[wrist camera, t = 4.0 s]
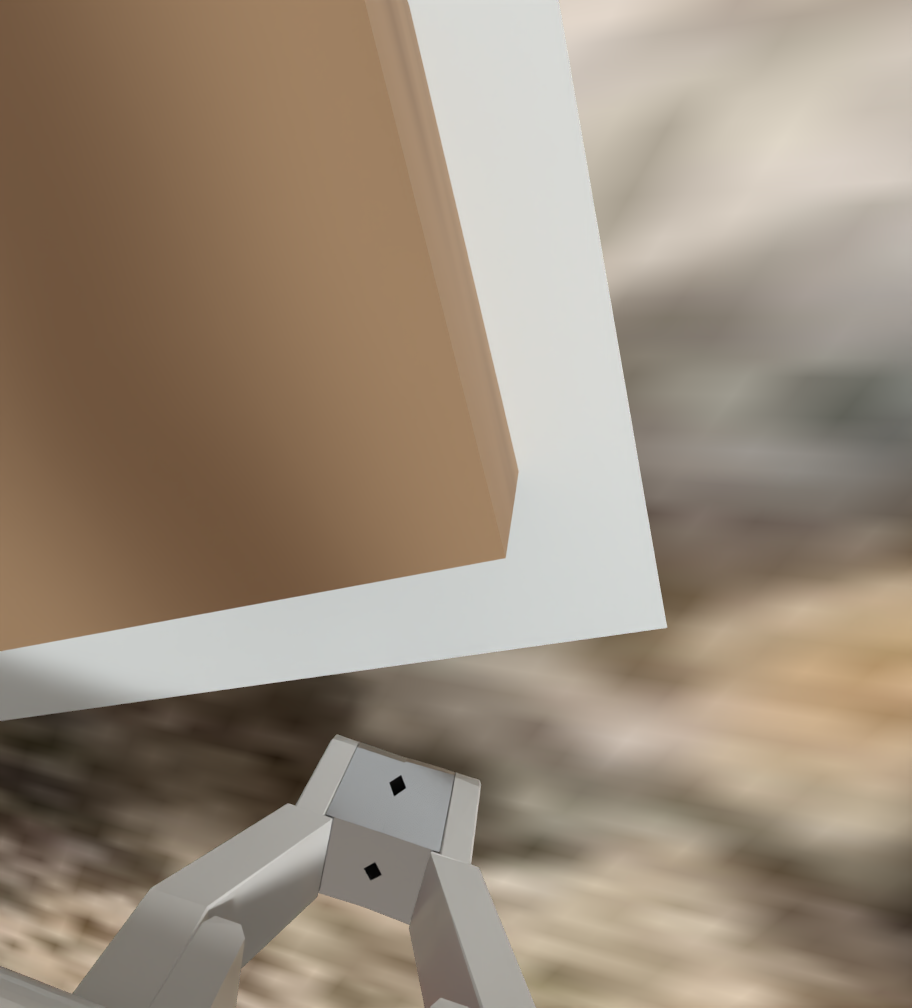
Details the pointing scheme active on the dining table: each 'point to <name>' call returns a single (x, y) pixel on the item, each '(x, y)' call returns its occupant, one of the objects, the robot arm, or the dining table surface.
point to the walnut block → (231, 315)
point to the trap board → (527, 404)
